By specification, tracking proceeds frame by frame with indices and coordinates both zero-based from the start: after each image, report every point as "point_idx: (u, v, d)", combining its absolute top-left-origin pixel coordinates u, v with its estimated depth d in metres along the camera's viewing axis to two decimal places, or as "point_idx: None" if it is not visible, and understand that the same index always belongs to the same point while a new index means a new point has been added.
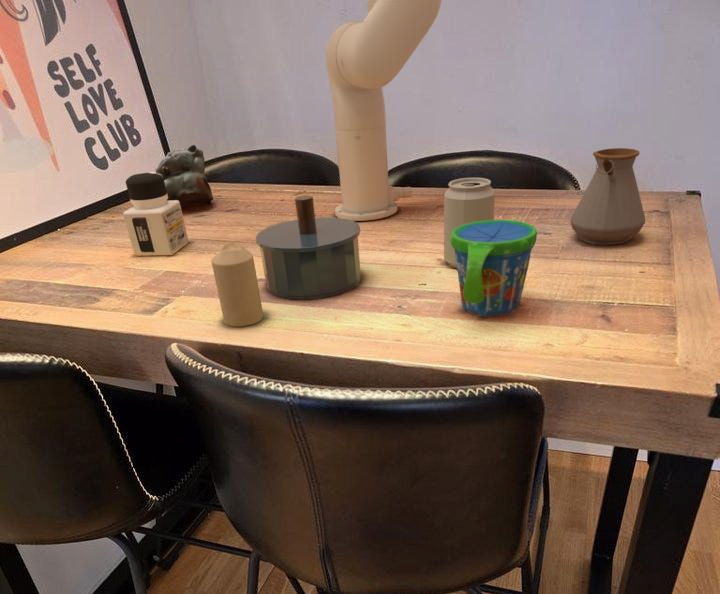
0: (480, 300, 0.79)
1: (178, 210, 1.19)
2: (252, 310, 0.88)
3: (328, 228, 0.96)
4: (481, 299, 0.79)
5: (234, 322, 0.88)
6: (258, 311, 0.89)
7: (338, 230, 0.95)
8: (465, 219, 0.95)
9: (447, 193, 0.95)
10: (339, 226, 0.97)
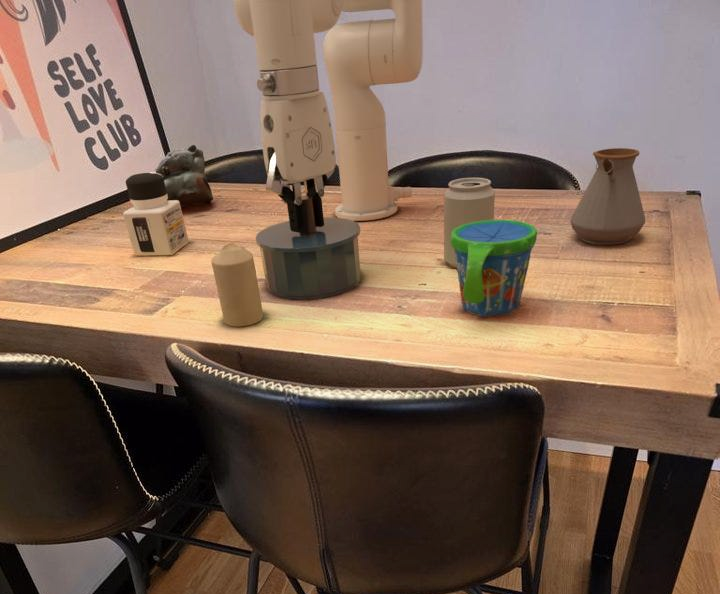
0: (480, 300, 0.79)
1: (178, 210, 1.19)
2: (252, 310, 0.88)
3: (328, 228, 0.96)
4: (481, 299, 0.79)
5: (234, 322, 0.88)
6: (258, 311, 0.89)
7: (338, 230, 0.95)
8: (465, 219, 0.95)
9: (447, 193, 0.95)
10: (339, 226, 0.97)
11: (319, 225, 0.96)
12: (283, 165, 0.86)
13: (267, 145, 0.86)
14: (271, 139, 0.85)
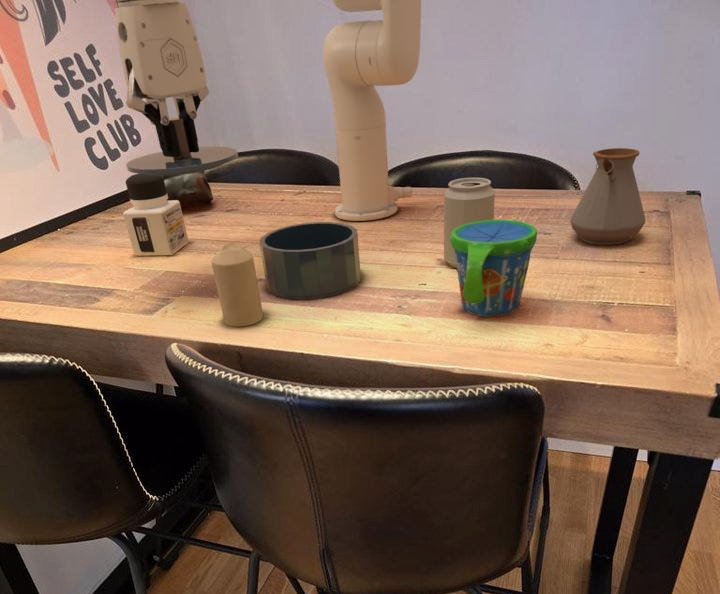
0: (480, 300, 0.79)
1: (178, 210, 1.19)
2: (252, 310, 0.88)
3: (204, 154, 0.92)
4: (481, 299, 0.79)
5: (234, 322, 0.88)
6: (258, 311, 0.89)
7: (213, 155, 0.91)
8: (465, 219, 0.95)
9: (447, 193, 0.95)
10: (216, 152, 0.93)
11: (193, 150, 0.91)
12: (141, 78, 0.82)
13: (124, 57, 0.82)
14: (127, 49, 0.81)
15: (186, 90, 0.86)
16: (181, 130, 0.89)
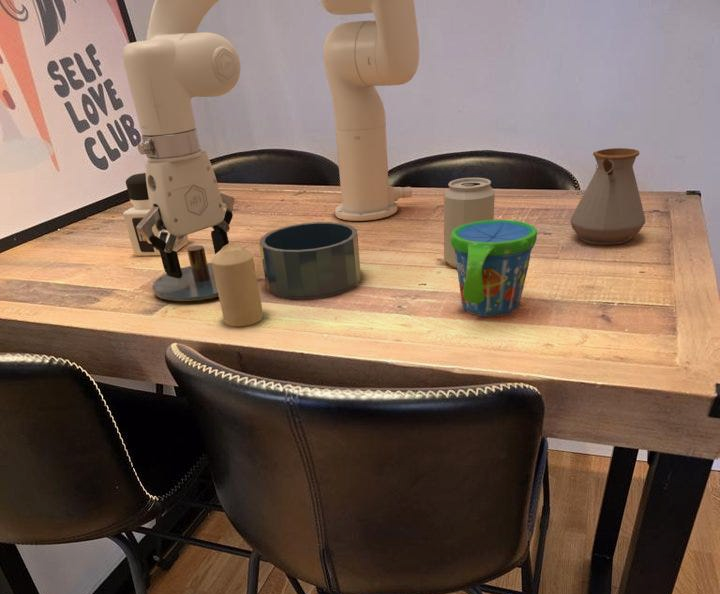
0: (480, 300, 0.79)
1: None
2: (252, 310, 0.88)
3: None
4: (481, 299, 0.79)
5: (234, 322, 0.88)
6: (258, 311, 0.89)
7: None
8: (465, 219, 0.95)
9: (447, 193, 0.95)
10: None
11: None
12: (167, 221, 0.92)
13: (153, 202, 0.92)
14: (155, 197, 0.91)
15: (207, 225, 0.96)
16: (201, 258, 0.99)
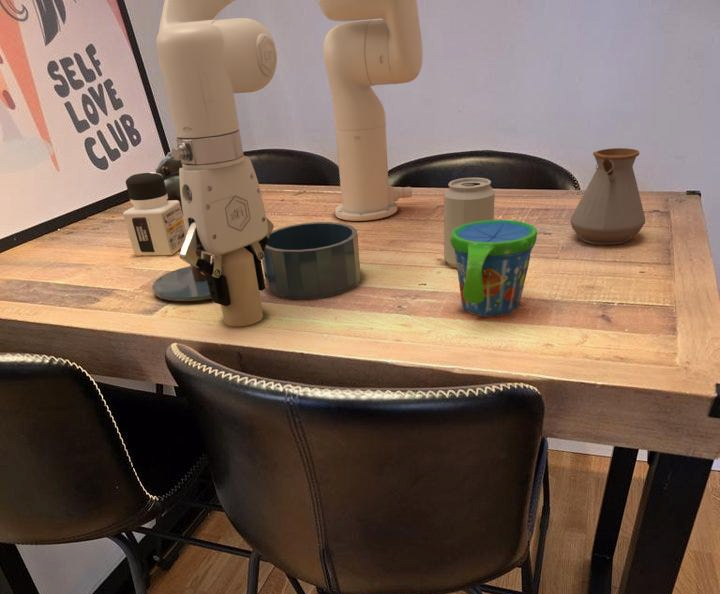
0: (480, 300, 0.79)
1: (178, 210, 1.19)
2: (252, 310, 0.88)
3: None
4: (481, 299, 0.79)
5: (234, 322, 0.88)
6: (258, 311, 0.89)
7: None
8: (465, 219, 0.95)
9: (447, 193, 0.95)
10: None
11: (260, 289, 0.89)
12: (205, 237, 0.79)
13: (187, 216, 0.79)
14: (191, 210, 0.78)
15: (248, 242, 0.83)
16: None
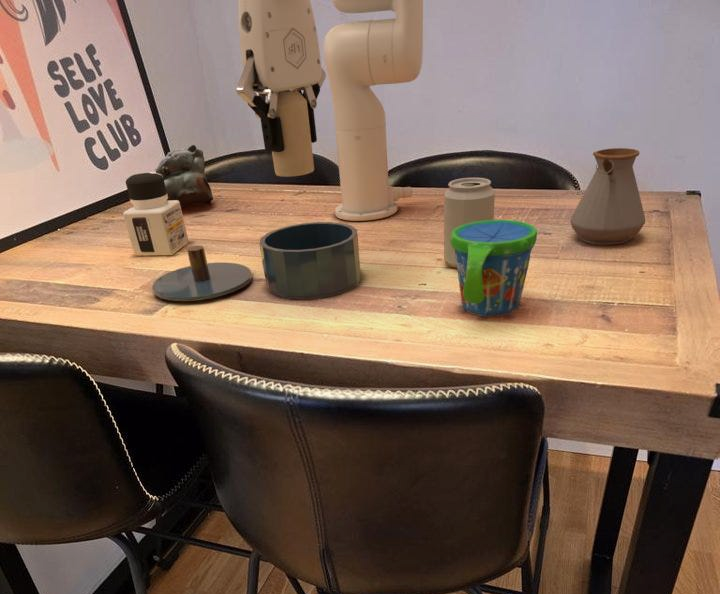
0: (480, 300, 0.79)
1: (178, 210, 1.19)
2: (304, 158, 0.87)
3: (222, 275, 1.03)
4: (481, 299, 0.79)
5: (286, 172, 0.88)
6: (310, 162, 0.88)
7: (230, 277, 1.01)
8: (465, 219, 0.95)
9: (447, 193, 0.95)
10: (232, 273, 1.03)
11: (311, 140, 0.89)
12: (263, 70, 0.79)
13: (245, 48, 0.79)
14: (249, 40, 0.78)
15: (303, 82, 0.83)
16: (201, 258, 0.99)
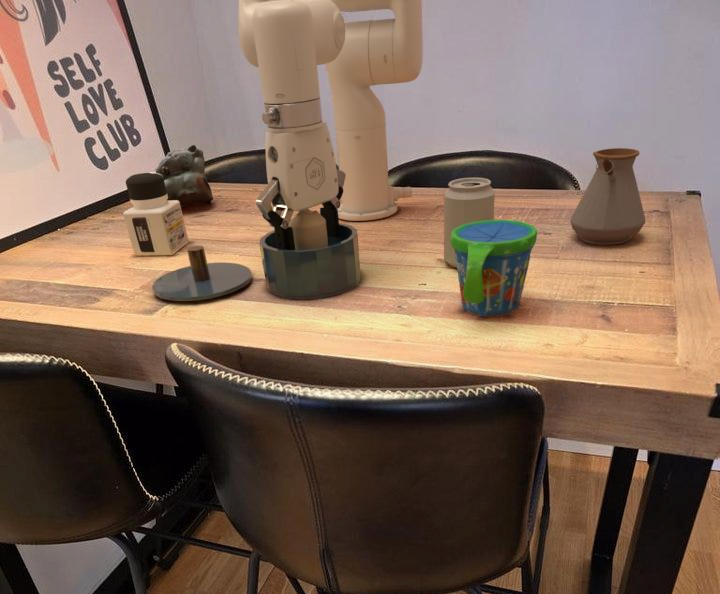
0: (480, 300, 0.79)
1: (178, 210, 1.19)
2: None
3: (222, 275, 1.03)
4: (481, 299, 0.79)
5: None
6: None
7: (230, 277, 1.01)
8: (465, 219, 0.95)
9: (447, 193, 0.95)
10: (232, 273, 1.03)
11: (335, 235, 0.99)
12: (287, 195, 0.88)
13: (272, 175, 0.88)
14: (275, 169, 0.87)
15: (322, 200, 0.92)
16: (201, 258, 0.99)
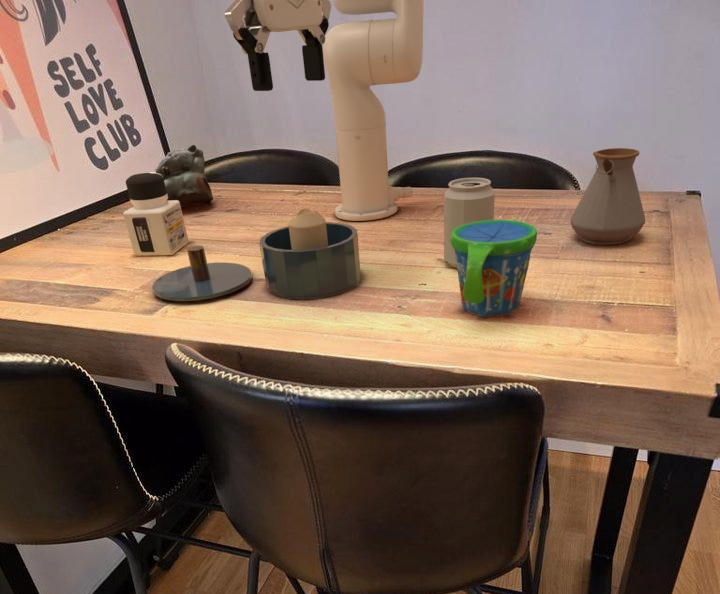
0: (480, 300, 0.79)
1: (178, 210, 1.19)
2: None
3: (222, 275, 1.03)
4: (481, 299, 0.79)
5: None
6: None
7: (230, 277, 1.01)
8: (465, 219, 0.95)
9: (447, 193, 0.95)
10: (232, 273, 1.03)
11: (319, 78, 0.87)
12: (262, 7, 0.76)
13: None
14: None
15: (304, 24, 0.80)
16: (201, 258, 0.99)
